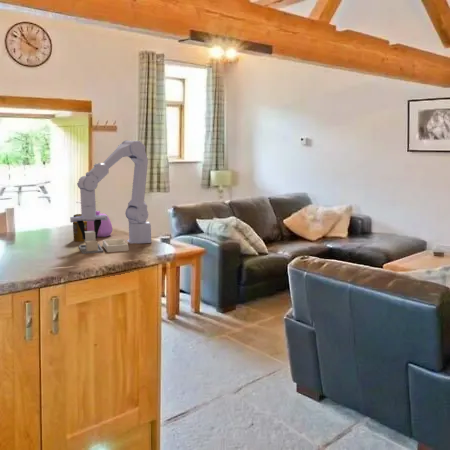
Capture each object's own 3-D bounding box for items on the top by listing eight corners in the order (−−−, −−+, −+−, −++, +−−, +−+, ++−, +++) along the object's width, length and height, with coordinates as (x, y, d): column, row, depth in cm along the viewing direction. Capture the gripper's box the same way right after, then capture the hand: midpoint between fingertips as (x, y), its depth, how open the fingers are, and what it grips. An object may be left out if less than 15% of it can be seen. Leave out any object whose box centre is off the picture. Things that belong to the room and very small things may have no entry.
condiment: (90, 242, 227) (89, 215, 225) (71, 244, 222) (70, 216, 220) (85, 239, 233) (84, 213, 231) (66, 241, 228) (65, 214, 226)
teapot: (115, 238, 235) (115, 212, 233) (85, 240, 230) (84, 214, 228) (107, 231, 253) (107, 207, 251) (80, 232, 248) (78, 208, 246)
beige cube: (95, 249, 209) (95, 240, 208) (98, 251, 206) (97, 241, 205) (85, 250, 207) (85, 240, 207) (87, 252, 204) (87, 242, 203)
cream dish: (123, 245, 220) (122, 238, 219) (128, 251, 208) (128, 244, 208) (102, 247, 217) (102, 240, 216) (107, 253, 205) (107, 246, 205)
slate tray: (99, 246, 217) (98, 243, 217) (103, 253, 205) (103, 250, 205) (78, 248, 214) (78, 245, 214) (82, 254, 202) (82, 251, 202)
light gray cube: (94, 240, 215) (93, 230, 214) (95, 242, 211) (95, 232, 210) (84, 240, 213) (84, 231, 212) (85, 242, 210) (85, 233, 209)
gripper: (105, 203, 216) (106, 235, 218) (68, 205, 211) (70, 238, 213) (107, 205, 209) (108, 238, 212) (70, 207, 204) (72, 241, 206)
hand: (89, 238), depth 212 cm, fingers closed on light gray cube, 4 cm apart
